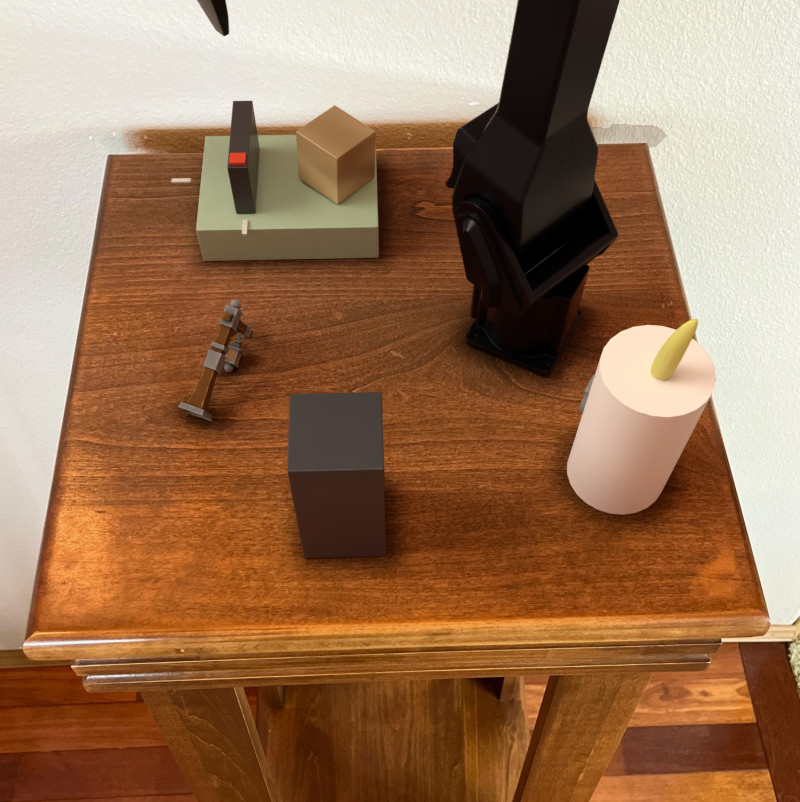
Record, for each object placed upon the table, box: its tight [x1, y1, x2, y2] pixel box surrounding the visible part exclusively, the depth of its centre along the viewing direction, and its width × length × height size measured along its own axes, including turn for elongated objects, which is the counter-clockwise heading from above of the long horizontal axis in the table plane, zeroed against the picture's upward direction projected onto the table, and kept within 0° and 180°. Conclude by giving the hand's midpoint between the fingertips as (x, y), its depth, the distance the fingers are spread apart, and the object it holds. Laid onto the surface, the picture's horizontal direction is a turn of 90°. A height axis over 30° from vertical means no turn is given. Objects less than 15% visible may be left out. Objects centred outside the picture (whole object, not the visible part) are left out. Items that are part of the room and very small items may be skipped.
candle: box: [566, 318, 717, 516], centre depth 52 cm, size 6×6×15 cm
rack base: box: [170, 134, 380, 262], centre depth 68 cm, size 15×11×3 cm
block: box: [295, 104, 377, 204], centre depth 65 cm, size 4×4×4 cm
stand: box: [286, 391, 386, 559], centre depth 52 cm, size 5×5×10 cm
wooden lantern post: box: [177, 299, 254, 422], centre depth 60 cm, size 2×8×4 cm, turn 158°
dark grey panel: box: [227, 100, 260, 214], centre depth 65 cm, size 7×1×4 cm, turn 2°
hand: (275, 4), depth 62 cm, fingers open, 9 cm apart
